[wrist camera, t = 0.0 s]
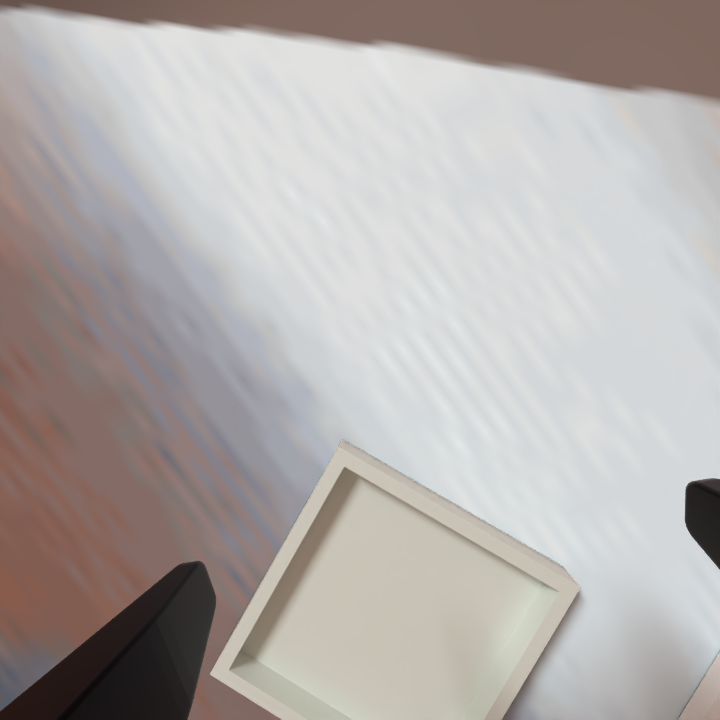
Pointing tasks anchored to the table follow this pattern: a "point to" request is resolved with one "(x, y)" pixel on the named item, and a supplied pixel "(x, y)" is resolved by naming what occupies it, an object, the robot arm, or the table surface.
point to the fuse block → (705, 697)
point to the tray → (393, 607)
